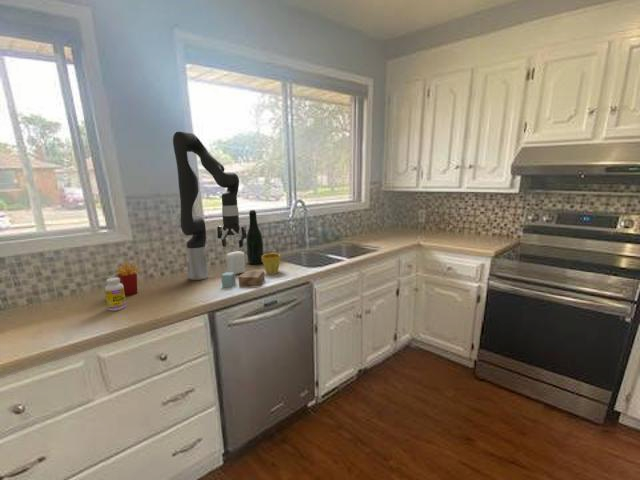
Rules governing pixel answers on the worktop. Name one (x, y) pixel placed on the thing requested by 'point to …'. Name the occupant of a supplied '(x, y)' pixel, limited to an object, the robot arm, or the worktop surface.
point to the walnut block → (251, 278)
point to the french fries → (128, 279)
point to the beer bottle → (254, 241)
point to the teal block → (228, 279)
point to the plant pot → (271, 263)
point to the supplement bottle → (115, 294)
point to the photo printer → (235, 262)
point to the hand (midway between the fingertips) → (232, 247)
